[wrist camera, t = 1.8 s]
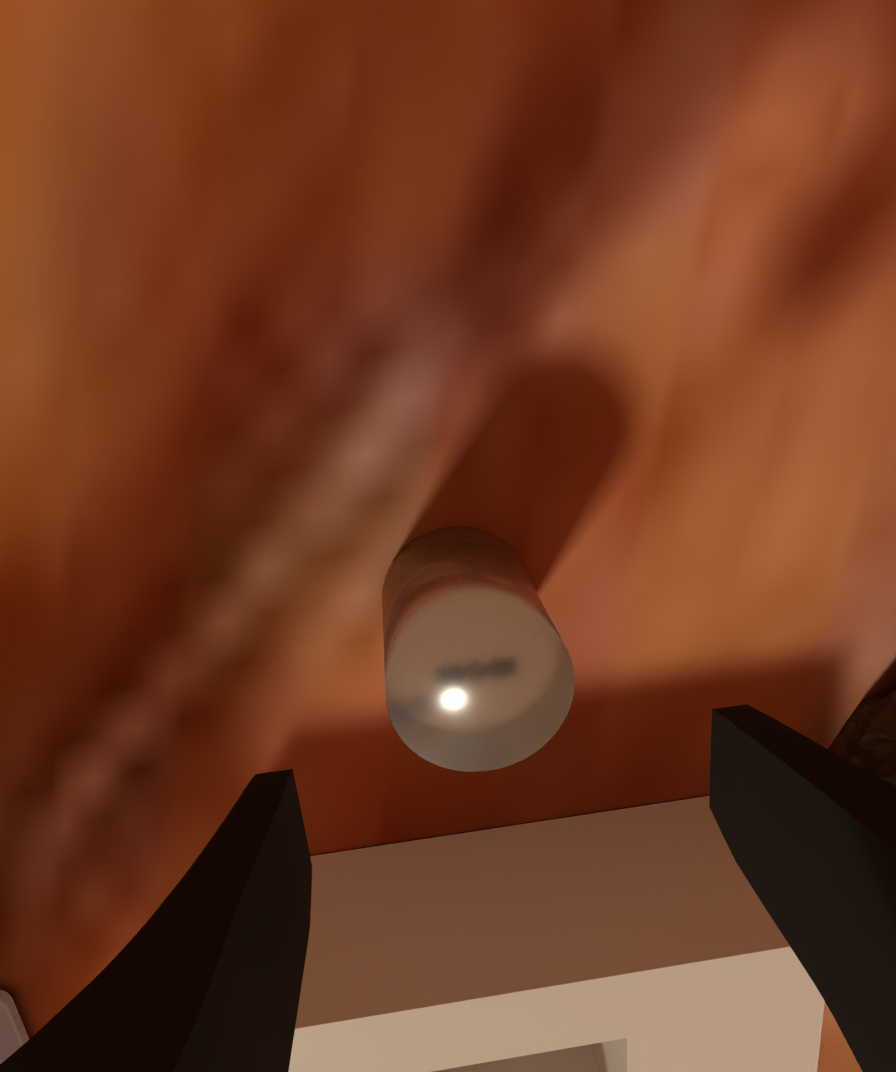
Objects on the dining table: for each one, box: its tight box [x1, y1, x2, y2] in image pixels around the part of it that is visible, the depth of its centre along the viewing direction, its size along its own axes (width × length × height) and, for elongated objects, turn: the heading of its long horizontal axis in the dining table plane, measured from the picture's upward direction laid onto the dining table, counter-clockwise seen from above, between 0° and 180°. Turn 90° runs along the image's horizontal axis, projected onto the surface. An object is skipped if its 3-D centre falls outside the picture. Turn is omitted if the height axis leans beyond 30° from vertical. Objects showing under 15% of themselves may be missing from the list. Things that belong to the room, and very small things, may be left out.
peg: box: [382, 527, 575, 772], centre depth 18 cm, size 4×4×5 cm
